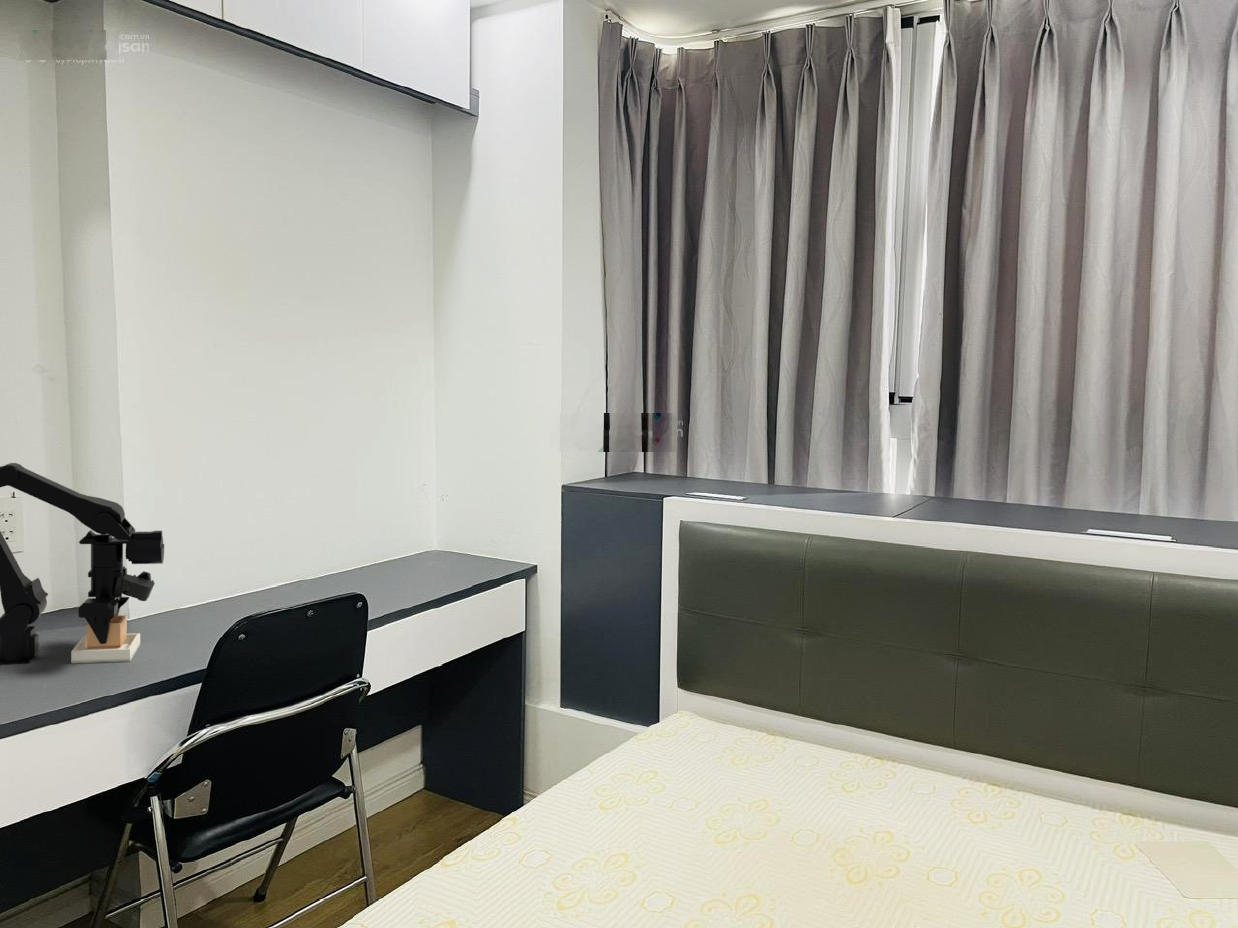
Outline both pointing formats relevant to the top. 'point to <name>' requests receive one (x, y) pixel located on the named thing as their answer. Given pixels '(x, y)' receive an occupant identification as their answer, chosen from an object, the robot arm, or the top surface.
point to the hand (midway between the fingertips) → (106, 638)
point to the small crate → (110, 634)
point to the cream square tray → (105, 651)
